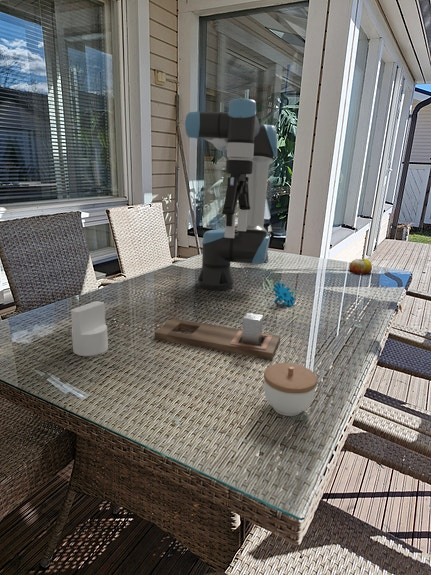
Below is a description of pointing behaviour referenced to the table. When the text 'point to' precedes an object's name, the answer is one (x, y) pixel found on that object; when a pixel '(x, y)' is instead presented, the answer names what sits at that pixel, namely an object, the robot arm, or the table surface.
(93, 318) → the cylinder with rectangular tab
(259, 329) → the steel block
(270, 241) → the coffeepot
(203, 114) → the robot arm
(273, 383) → the lidded jar
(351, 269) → the fruit
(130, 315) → the table surface
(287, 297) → the gear
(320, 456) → the table surface
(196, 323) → the walnut rail
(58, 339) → the table surface
